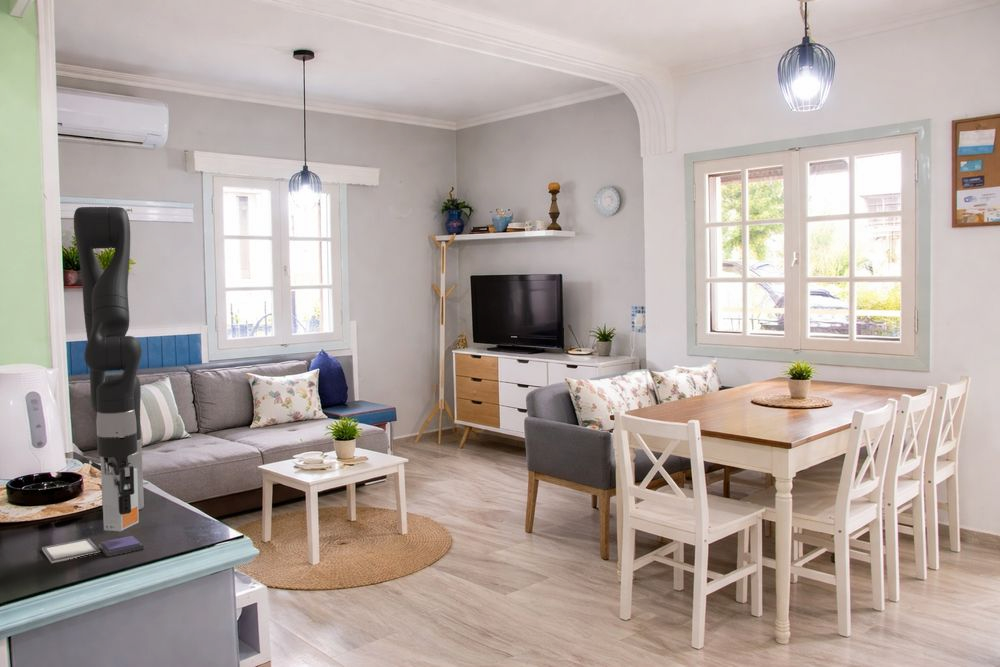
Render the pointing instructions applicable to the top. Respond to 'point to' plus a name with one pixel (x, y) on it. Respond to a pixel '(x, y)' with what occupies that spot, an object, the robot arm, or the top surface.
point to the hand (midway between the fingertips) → (120, 508)
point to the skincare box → (111, 506)
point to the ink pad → (120, 545)
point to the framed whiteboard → (70, 550)
